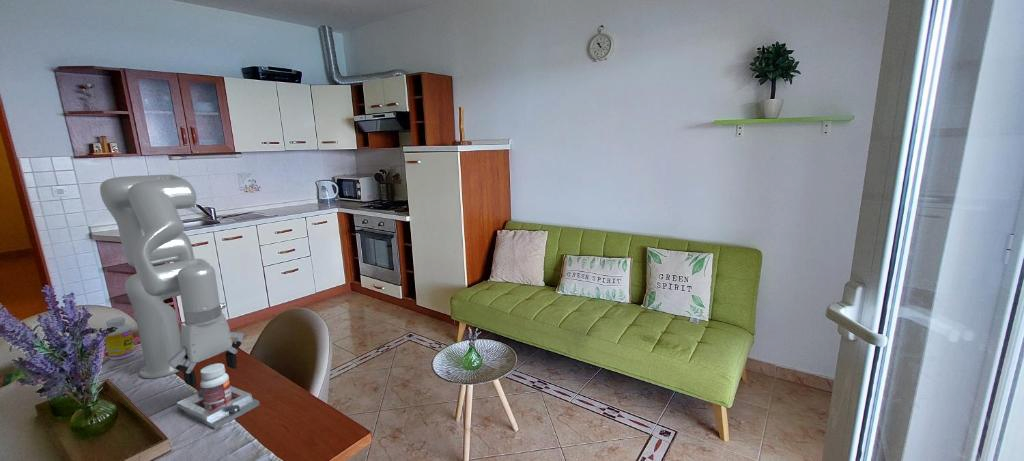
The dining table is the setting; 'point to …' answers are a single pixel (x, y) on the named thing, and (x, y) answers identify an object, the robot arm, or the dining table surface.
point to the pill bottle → (215, 386)
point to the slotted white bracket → (220, 415)
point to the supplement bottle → (119, 339)
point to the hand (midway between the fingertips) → (212, 375)
